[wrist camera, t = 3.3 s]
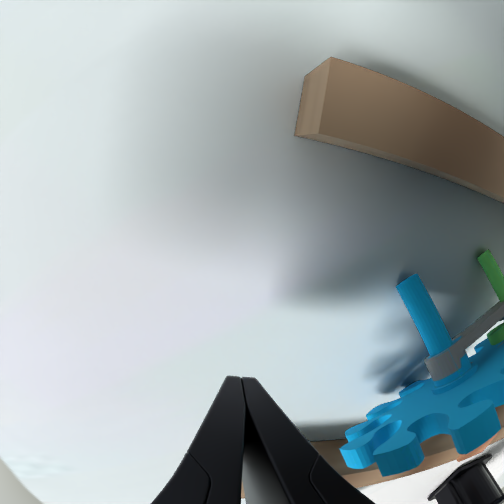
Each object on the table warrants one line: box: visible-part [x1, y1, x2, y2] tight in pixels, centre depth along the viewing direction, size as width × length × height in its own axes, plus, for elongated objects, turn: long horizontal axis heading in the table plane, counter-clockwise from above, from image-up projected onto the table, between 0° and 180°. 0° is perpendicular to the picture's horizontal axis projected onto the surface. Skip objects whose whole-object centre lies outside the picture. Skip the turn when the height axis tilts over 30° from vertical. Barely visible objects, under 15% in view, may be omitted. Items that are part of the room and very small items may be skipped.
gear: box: [340, 249, 504, 477], centre depth 10 cm, size 11×6×10 cm
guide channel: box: [241, 57, 504, 498], centre depth 12 cm, size 24×18×3 cm
